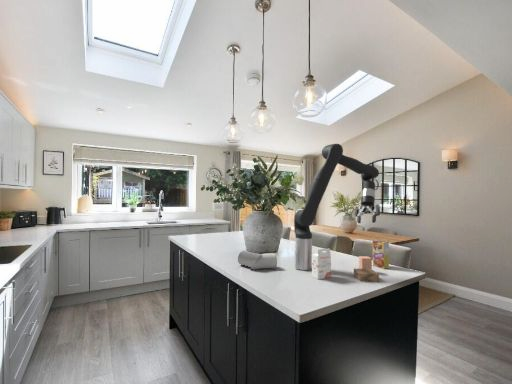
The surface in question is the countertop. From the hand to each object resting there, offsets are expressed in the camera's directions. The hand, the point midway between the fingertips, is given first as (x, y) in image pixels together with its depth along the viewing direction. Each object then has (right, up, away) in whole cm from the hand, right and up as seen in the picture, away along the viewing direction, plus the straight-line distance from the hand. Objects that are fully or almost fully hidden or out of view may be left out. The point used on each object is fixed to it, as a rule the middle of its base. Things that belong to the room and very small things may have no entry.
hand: (366, 222), depth 153 cm
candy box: (+9, -26, +2) cm, 28 cm away
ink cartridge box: (-31, -25, -20) cm, 45 cm away
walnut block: (-9, -26, -21) cm, 35 cm away
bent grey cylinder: (-64, -26, -2) cm, 69 cm away
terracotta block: (-5, -26, -10) cm, 28 cm away
